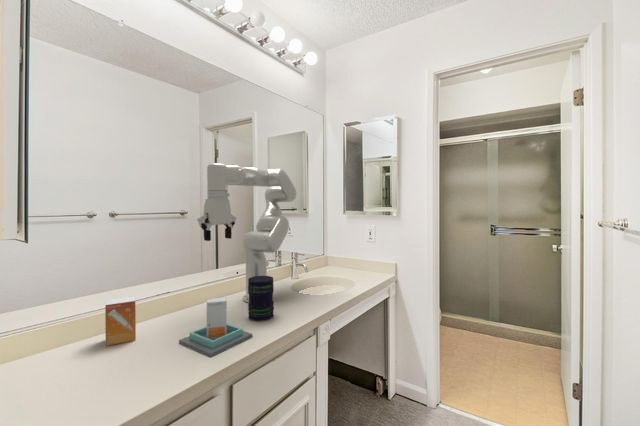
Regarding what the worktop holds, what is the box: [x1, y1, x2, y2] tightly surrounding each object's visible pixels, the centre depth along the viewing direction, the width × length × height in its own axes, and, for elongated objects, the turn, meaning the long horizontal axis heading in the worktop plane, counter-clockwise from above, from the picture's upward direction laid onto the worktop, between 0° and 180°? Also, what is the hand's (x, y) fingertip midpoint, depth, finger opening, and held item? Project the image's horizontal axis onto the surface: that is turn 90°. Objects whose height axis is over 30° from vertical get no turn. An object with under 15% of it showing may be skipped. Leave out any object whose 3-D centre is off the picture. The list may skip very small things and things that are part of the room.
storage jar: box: [247, 275, 275, 322], centre depth 117 cm, size 10×10×15 cm
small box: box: [104, 295, 137, 347], centre depth 97 cm, size 8×6×13 cm
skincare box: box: [206, 297, 228, 339], centre depth 97 cm, size 6×4×12 cm
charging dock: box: [178, 322, 253, 358], centre depth 97 cm, size 16×16×3 cm
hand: (218, 239), depth 117 cm, fingers open, 9 cm apart
